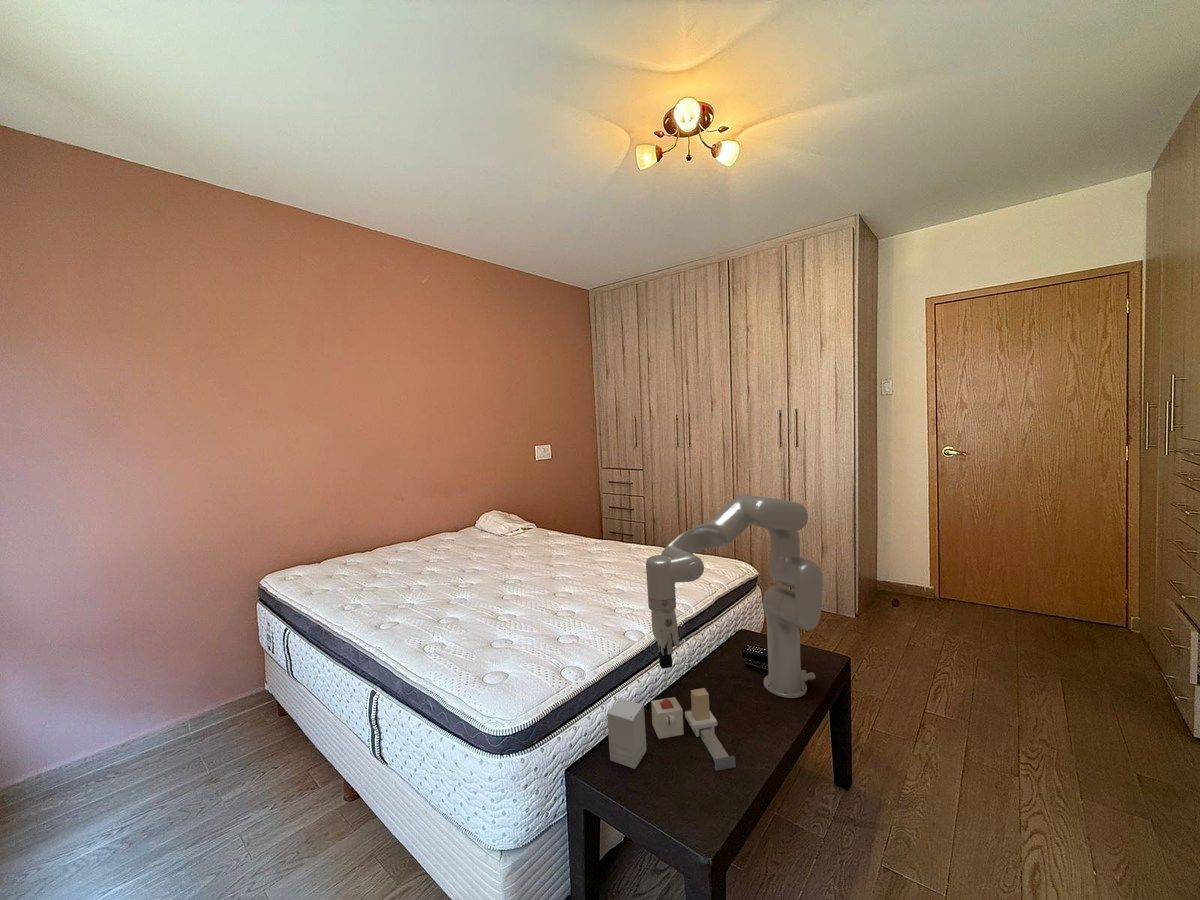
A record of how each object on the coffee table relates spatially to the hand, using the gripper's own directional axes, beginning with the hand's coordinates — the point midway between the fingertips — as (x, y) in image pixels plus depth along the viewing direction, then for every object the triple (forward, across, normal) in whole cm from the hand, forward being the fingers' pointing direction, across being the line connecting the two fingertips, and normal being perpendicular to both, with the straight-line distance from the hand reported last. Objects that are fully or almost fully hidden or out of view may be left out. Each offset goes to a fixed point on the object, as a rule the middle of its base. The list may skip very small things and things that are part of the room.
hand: (666, 666), depth 126 cm
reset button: (+15, 0, +1) cm, 15 cm away
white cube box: (+18, 0, +1) cm, 18 cm away
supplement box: (+18, -7, +14) cm, 24 cm away
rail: (+18, -7, -8) cm, 21 cm away
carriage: (+18, -2, -8) cm, 20 cm away
